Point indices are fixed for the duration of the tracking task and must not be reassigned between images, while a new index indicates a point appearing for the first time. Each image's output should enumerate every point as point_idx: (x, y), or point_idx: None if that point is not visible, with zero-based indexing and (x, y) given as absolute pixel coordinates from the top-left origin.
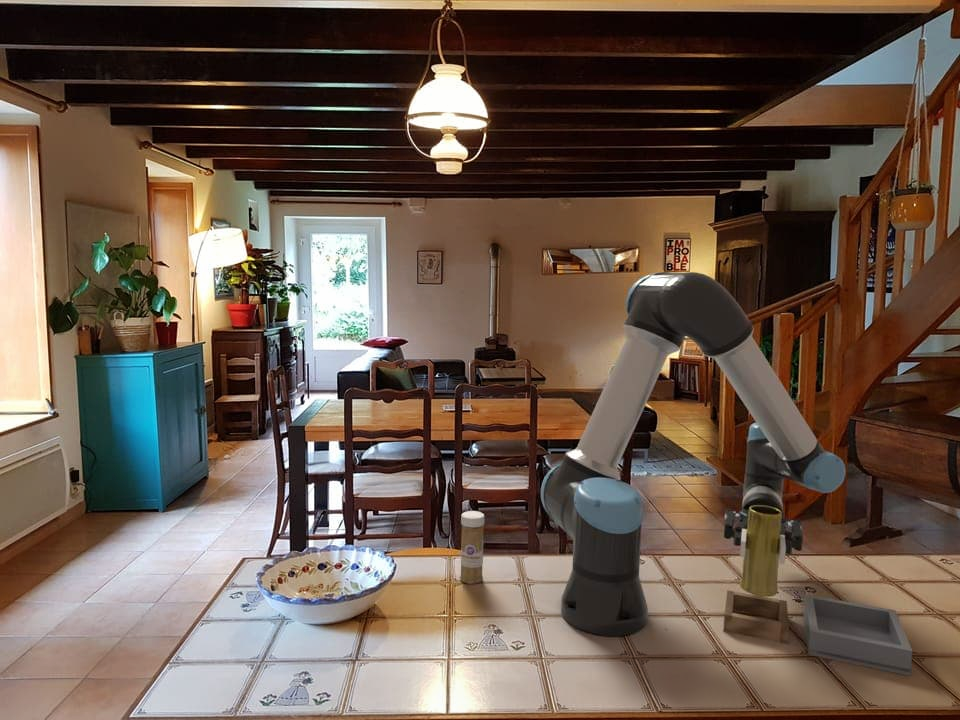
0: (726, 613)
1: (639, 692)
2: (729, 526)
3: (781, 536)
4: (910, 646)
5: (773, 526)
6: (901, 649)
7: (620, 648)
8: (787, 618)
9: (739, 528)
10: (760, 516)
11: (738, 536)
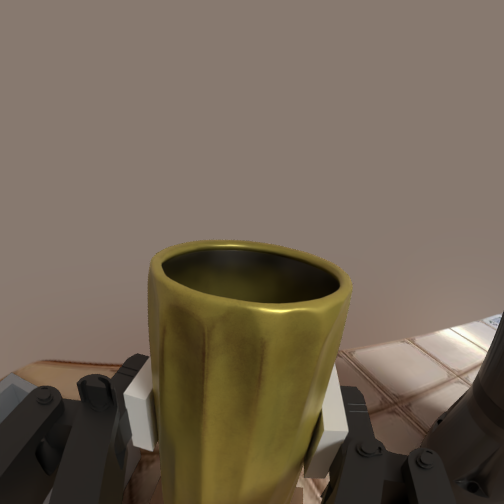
0: (298, 492)
1: (364, 364)
2: (412, 451)
3: (148, 382)
4: (2, 380)
5: (214, 294)
6: (21, 378)
7: (416, 412)
8: (154, 495)
9: (361, 440)
10: (281, 260)
11: (346, 393)
